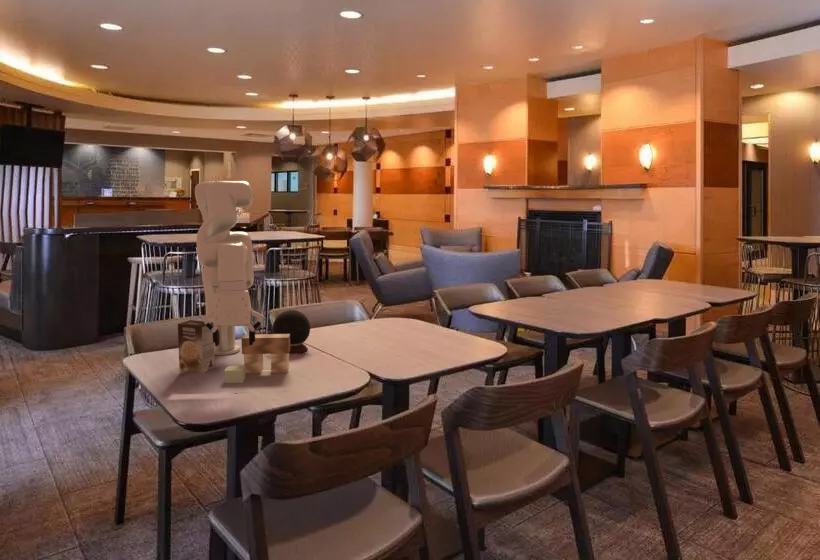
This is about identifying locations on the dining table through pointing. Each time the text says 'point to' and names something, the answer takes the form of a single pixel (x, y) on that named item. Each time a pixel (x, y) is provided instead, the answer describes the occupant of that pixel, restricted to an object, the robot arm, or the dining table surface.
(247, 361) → the block
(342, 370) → the dining table surface
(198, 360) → the coffee box
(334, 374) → the dining table surface
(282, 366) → the block
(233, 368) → the cube
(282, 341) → the plank
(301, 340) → the black ball on stand
